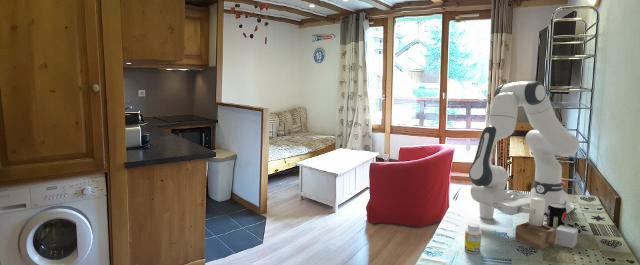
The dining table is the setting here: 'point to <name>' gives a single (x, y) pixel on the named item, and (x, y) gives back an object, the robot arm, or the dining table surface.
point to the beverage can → (556, 215)
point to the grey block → (566, 236)
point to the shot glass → (486, 211)
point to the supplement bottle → (473, 238)
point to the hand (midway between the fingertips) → (539, 210)
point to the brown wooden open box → (535, 235)
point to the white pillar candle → (537, 211)
